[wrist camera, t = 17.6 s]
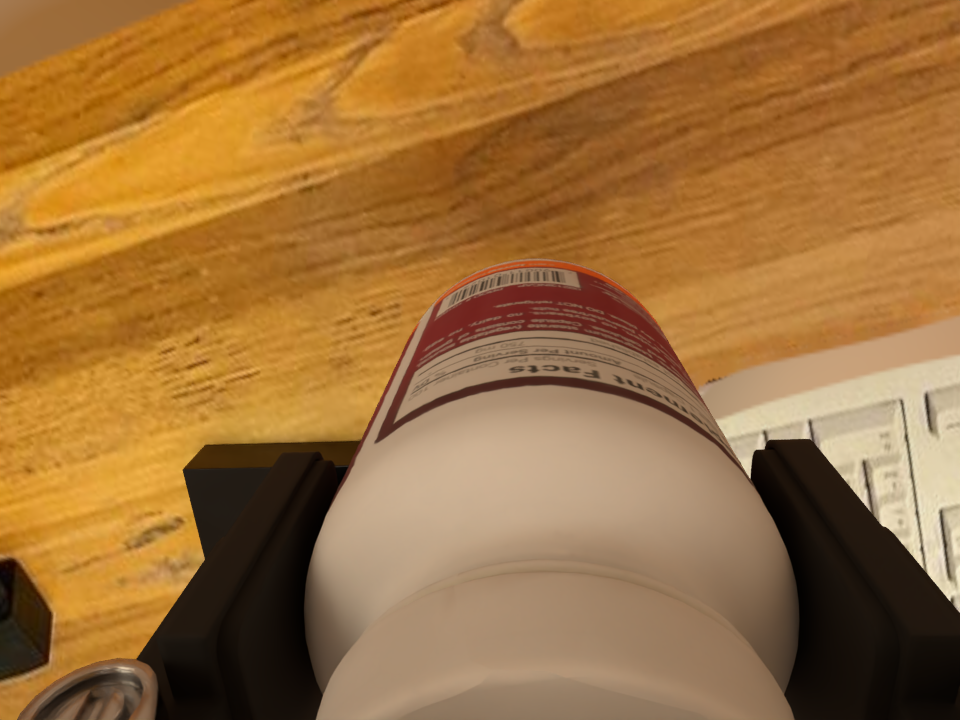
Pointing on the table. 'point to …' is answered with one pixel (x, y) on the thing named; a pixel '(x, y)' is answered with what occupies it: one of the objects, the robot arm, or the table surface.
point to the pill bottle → (547, 526)
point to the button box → (242, 479)
